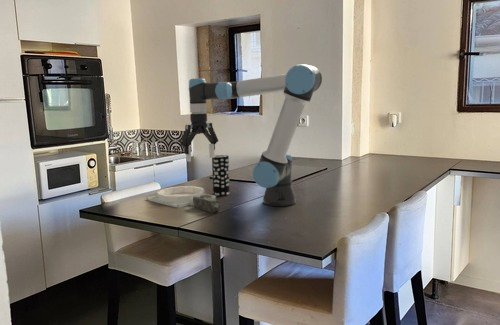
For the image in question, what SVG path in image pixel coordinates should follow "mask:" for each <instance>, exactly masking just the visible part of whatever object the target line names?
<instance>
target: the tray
mask: <svg viewBox="0 0 500 325" xmlns="http://www.w3.org/2000/svg"><path fill="white" fill-rule="evenodd" d="M205 195H209V196H211V197H212V198H215V199H217V196H215V195H213V194H209V193H205ZM146 201H149V202H153V203H157V204H161V205H164V206H165V205H166V206H168V207H173V208H177V209H178V208H183V207H187V206H190V204H189V202H187V203H183V204H179V205H177V204H173V203H169V202H165V201H161V200H158V194H157V195H153V196H148V197H146Z"/></svg>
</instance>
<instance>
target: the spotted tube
mask: <svg viewBox="0 0 500 325" xmlns="http://www.w3.org/2000/svg"><path fill="white" fill-rule="evenodd" d="M229 158H230V157H229V155H226V154H216V155H215V154H214V158H211V169H212V171H211V172H212V174H211V175H212V195H215V196H216V197H228V196H230V195H231V194H230V192H231V190H230V159H229Z"/></svg>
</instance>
